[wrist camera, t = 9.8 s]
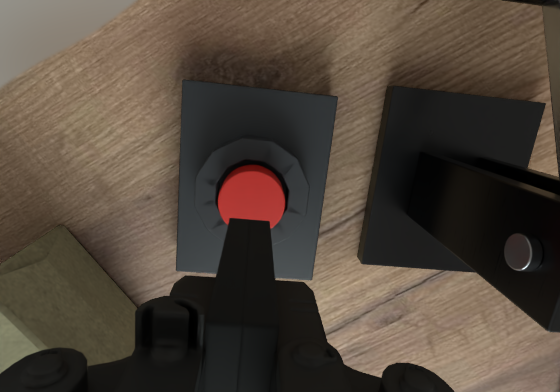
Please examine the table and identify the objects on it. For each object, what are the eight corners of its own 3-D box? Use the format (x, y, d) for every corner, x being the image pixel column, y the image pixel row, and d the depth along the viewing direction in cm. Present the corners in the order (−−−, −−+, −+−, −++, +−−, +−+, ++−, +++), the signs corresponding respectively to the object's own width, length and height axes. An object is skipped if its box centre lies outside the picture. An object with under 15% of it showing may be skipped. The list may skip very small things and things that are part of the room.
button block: (189, 80, 23) (175, 77, 19) (331, 96, 24) (345, 96, 20) (182, 257, 26) (169, 285, 22) (307, 266, 27) (316, 295, 23)
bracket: (387, 85, 24) (550, 76, 10) (532, 102, 24) (859, 113, 11) (357, 257, 27) (453, 418, 13) (487, 266, 28) (699, 427, 14)
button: (222, 161, 21) (219, 167, 19) (286, 167, 21) (288, 173, 19) (219, 221, 22) (215, 232, 20) (279, 226, 22) (281, 237, 20)
